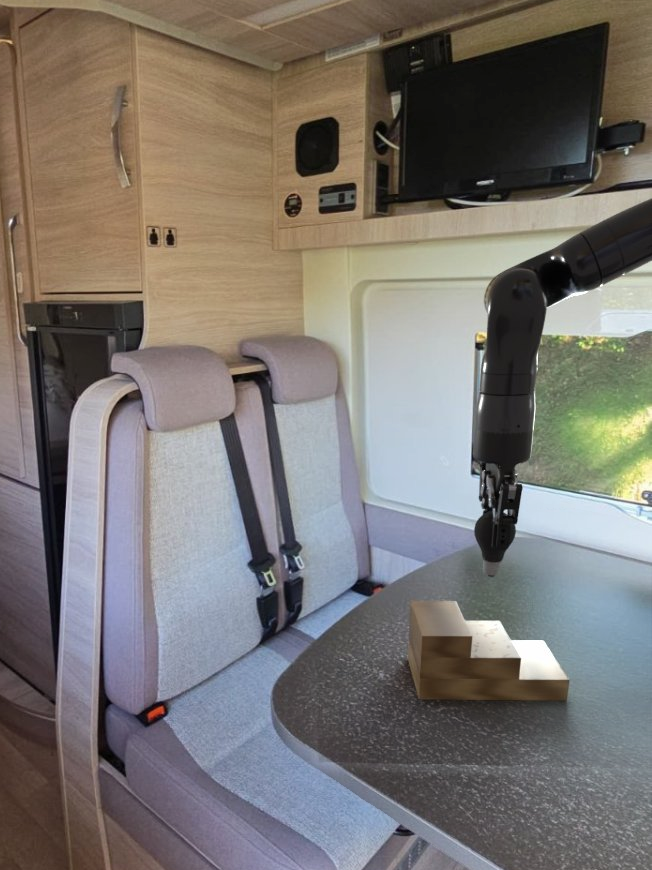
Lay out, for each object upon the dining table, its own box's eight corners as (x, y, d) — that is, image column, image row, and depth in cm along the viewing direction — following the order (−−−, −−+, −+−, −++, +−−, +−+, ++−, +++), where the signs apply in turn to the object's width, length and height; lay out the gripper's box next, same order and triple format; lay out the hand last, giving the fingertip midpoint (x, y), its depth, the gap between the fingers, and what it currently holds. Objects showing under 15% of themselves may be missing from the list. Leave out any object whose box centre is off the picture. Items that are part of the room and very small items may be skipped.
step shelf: (541, 659, 115) (548, 600, 112) (566, 701, 104) (575, 636, 100) (407, 659, 118) (410, 600, 114) (418, 699, 106) (422, 636, 103)
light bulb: (489, 586, 102) (495, 520, 99) (462, 573, 107) (467, 509, 104) (520, 578, 104) (526, 513, 101) (492, 566, 109) (497, 503, 106)
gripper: (549, 435, 91) (536, 559, 97) (518, 414, 104) (508, 525, 110) (487, 437, 92) (478, 560, 97) (464, 416, 105) (457, 525, 111)
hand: (494, 541), depth 104 cm, fingers closed on light bulb, 5 cm apart
